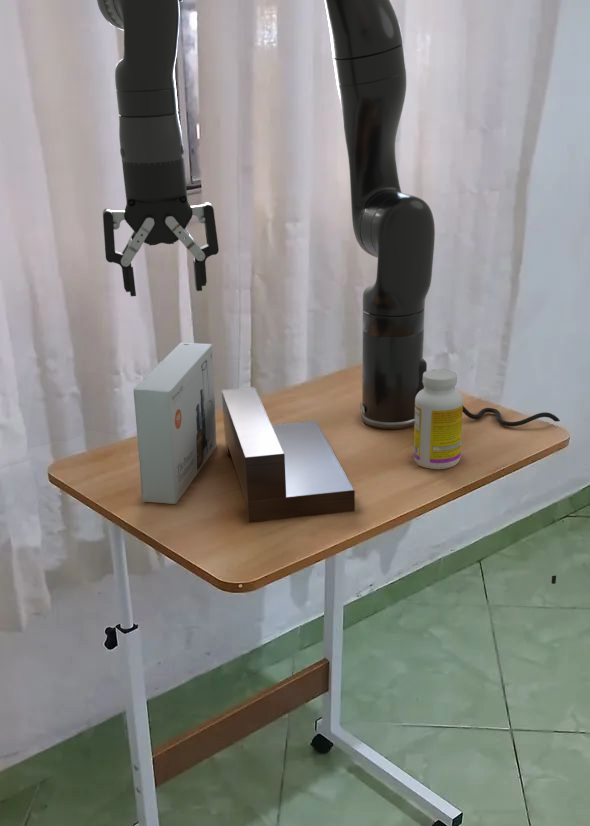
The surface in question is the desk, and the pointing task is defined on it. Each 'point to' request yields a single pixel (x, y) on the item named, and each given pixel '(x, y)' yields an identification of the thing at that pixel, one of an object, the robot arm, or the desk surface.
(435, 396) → the supplement bottle
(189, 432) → the skincare box
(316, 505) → the metal step block
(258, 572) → the desk surface
